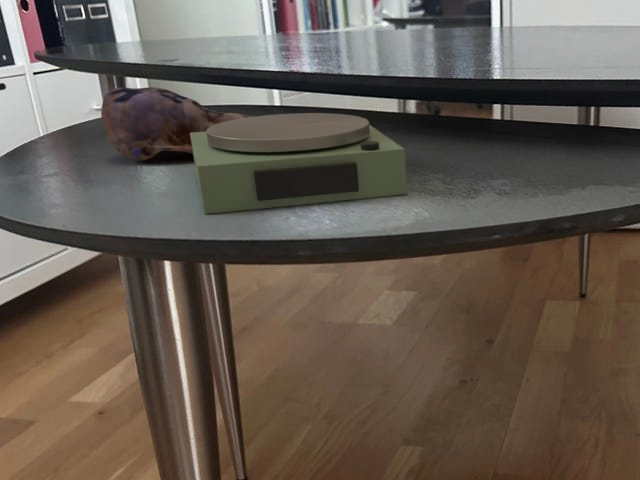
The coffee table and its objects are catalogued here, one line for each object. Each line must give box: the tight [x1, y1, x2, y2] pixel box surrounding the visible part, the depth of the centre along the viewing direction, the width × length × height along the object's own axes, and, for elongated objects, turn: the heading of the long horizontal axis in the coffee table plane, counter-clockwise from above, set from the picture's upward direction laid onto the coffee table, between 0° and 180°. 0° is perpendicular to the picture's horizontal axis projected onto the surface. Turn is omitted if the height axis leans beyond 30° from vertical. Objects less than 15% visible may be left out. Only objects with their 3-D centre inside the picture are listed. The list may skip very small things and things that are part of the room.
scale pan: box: [206, 112, 370, 152], centre depth 59 cm, size 11×11×1 cm
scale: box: [190, 124, 408, 215], centre depth 59 cm, size 13×13×3 cm
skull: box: [100, 86, 253, 162], centre depth 69 cm, size 12×8×6 cm, turn 88°
